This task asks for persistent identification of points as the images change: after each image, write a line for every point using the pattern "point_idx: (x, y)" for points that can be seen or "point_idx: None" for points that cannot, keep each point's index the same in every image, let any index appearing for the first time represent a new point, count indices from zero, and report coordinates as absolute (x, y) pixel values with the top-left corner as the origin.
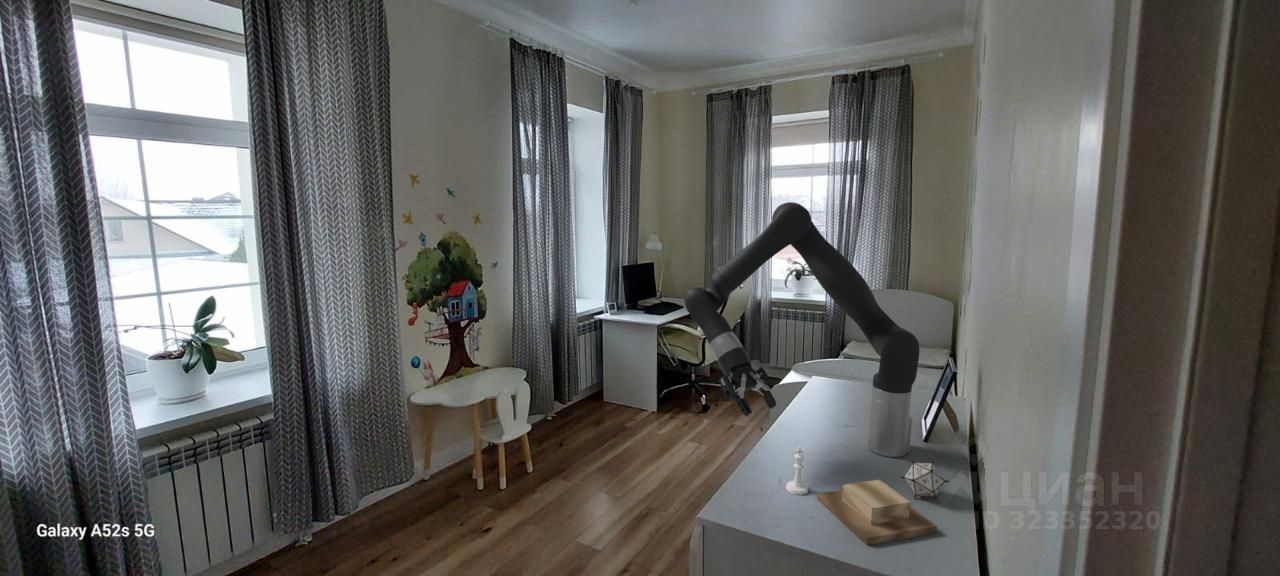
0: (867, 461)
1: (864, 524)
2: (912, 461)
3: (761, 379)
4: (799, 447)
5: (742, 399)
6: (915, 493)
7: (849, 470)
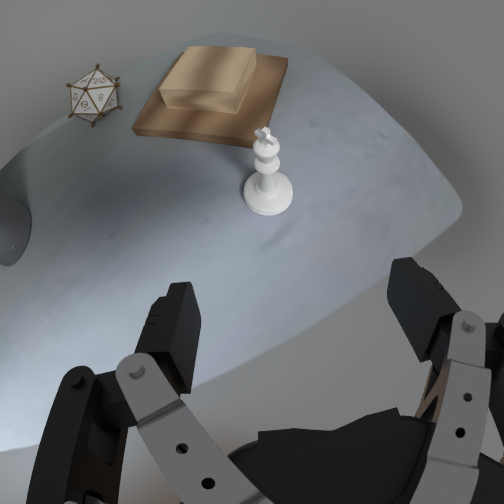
0: (59, 217)
1: (265, 70)
2: (85, 87)
3: (102, 485)
4: (265, 130)
5: (451, 318)
6: (117, 103)
7: (109, 204)
